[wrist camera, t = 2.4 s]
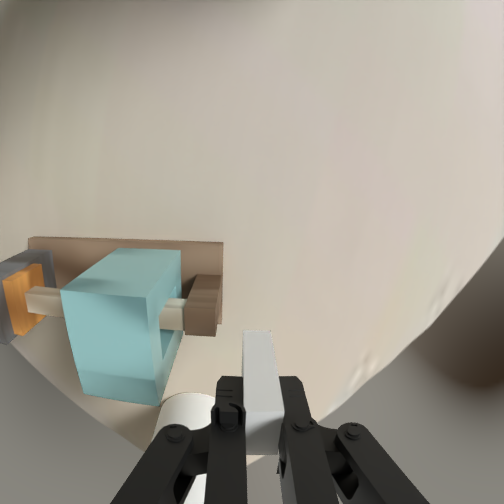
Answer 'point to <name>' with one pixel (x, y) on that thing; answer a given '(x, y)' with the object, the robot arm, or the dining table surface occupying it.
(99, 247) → the rail
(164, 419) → the cup
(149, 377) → the sleeve
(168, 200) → the dining table surface
